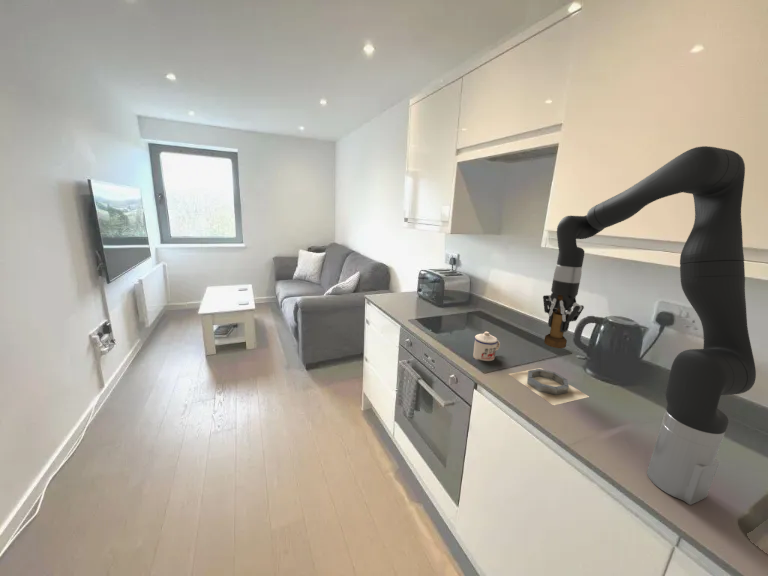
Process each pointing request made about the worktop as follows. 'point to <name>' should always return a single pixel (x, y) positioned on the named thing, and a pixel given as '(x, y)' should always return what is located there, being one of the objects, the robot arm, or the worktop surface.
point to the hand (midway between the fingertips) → (557, 328)
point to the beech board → (552, 399)
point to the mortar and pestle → (556, 331)
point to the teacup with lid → (485, 347)
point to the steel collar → (546, 388)
